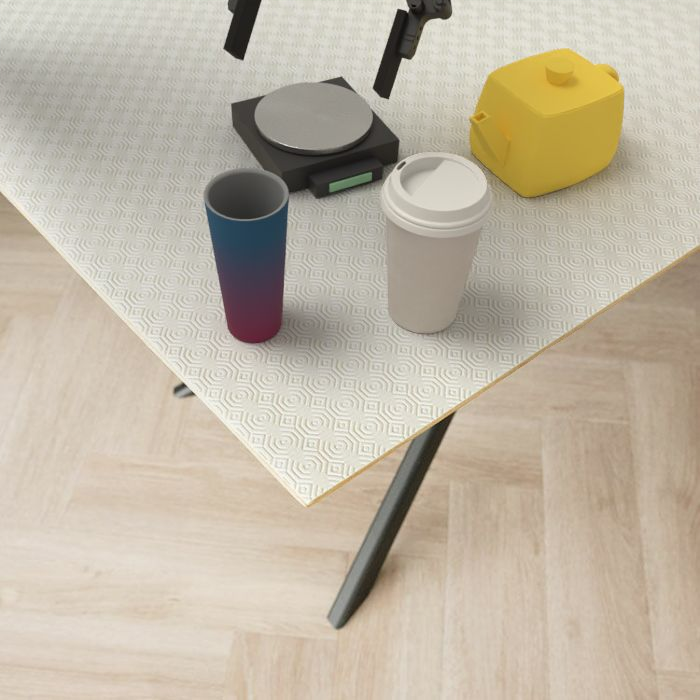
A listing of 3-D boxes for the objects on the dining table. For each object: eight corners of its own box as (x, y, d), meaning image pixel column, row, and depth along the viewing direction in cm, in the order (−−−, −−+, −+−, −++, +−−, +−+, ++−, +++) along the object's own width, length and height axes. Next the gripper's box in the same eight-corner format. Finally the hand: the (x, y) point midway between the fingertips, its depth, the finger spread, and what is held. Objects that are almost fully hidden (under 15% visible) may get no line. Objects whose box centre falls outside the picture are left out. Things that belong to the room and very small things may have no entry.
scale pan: (236, 103, 102) (236, 97, 102) (340, 78, 107) (340, 72, 106) (284, 167, 95) (284, 161, 94) (393, 137, 99) (394, 131, 98)
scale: (232, 126, 105) (230, 103, 102) (341, 98, 109) (341, 76, 107) (291, 207, 95) (290, 184, 93) (407, 173, 100) (409, 151, 98)
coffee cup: (429, 261, 90) (445, 133, 79) (494, 318, 85) (521, 190, 74) (351, 299, 86) (357, 170, 75) (415, 361, 81) (431, 233, 70)
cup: (294, 299, 86) (292, 169, 75) (288, 352, 82) (285, 222, 70) (222, 295, 86) (209, 165, 75) (212, 348, 82) (197, 218, 70)
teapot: (496, 219, 95) (515, 123, 86) (428, 157, 102) (439, 62, 93) (636, 163, 102) (666, 68, 94) (564, 108, 109) (586, 16, 101)
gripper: (535, -130, 74) (453, 122, 76) (264, -181, 81) (194, 52, 82) (528, -181, 67) (438, 99, 69) (230, -233, 73) (155, 24, 75)
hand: (305, 74), depth 76 cm, fingers open, 13 cm apart
